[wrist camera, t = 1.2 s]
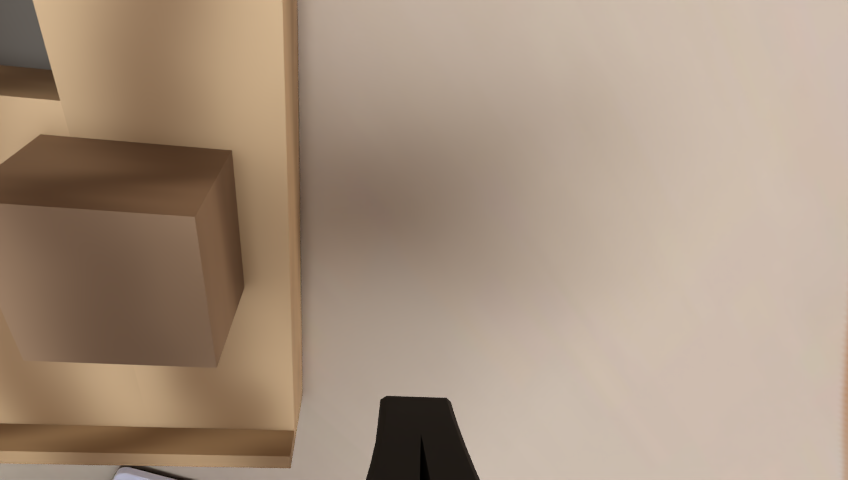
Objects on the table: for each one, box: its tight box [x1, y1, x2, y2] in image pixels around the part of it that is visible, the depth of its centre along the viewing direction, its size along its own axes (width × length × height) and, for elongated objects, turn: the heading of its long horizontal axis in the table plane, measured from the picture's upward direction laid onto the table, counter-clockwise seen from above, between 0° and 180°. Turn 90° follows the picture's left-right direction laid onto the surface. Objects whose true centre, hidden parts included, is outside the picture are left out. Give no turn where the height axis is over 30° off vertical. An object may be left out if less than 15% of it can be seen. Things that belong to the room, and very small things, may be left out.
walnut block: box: [0, 134, 244, 368], centre depth 14 cm, size 5×5×4 cm
